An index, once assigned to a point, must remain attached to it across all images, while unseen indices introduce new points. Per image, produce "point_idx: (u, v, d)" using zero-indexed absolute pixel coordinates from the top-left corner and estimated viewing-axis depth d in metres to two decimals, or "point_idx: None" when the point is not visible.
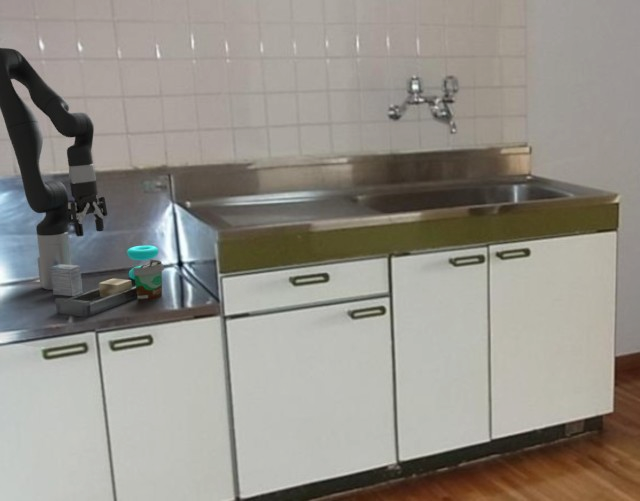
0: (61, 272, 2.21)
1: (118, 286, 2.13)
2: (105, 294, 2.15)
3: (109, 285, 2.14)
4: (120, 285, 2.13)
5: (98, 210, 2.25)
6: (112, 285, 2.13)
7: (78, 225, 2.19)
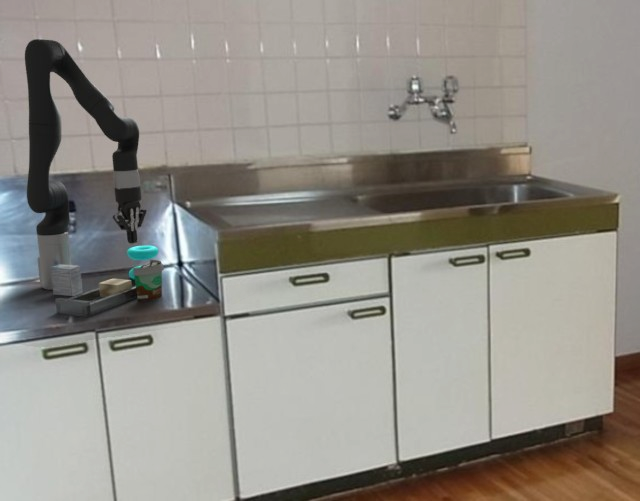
0: (61, 272, 2.21)
1: (118, 286, 2.13)
2: (105, 294, 2.15)
3: (109, 285, 2.14)
4: (120, 285, 2.13)
5: (137, 218, 2.21)
6: (112, 285, 2.13)
7: (130, 232, 2.20)
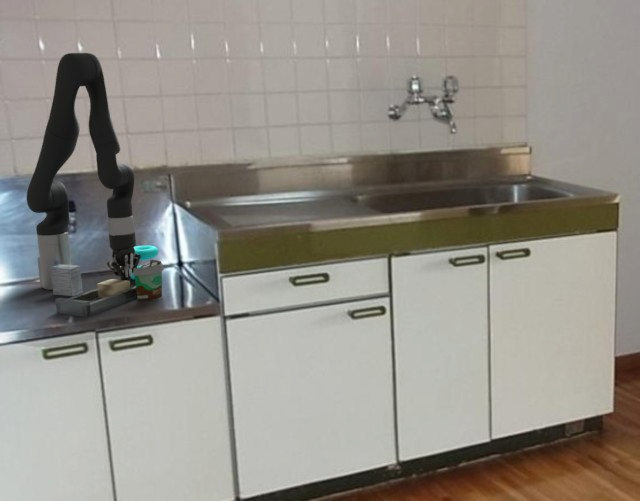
0: (61, 272, 2.21)
1: (116, 287, 2.12)
2: (103, 295, 2.14)
3: (107, 286, 2.13)
4: (118, 286, 2.13)
5: (131, 264, 2.20)
6: (110, 286, 2.13)
7: (125, 278, 2.19)
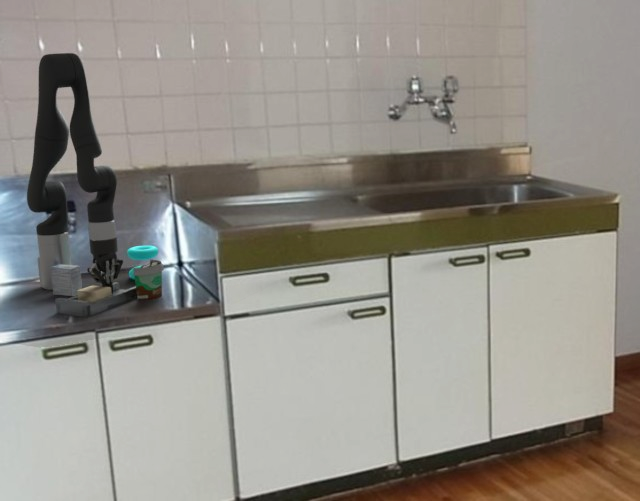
0: (61, 272, 2.21)
1: (97, 294, 2.05)
2: None
3: (88, 292, 2.06)
4: (99, 292, 2.06)
5: (113, 270, 2.13)
6: (91, 292, 2.06)
7: (106, 285, 2.12)
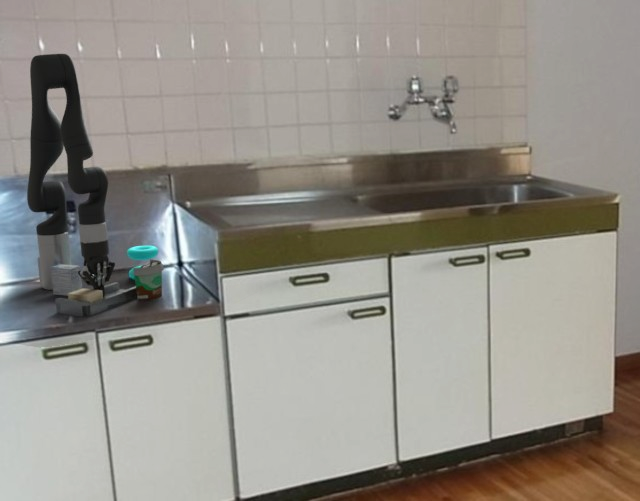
0: (61, 272, 2.21)
1: (88, 297, 2.02)
2: None
3: (78, 296, 2.03)
4: (90, 296, 2.03)
5: (104, 273, 2.10)
6: (81, 296, 2.02)
7: (97, 288, 2.09)
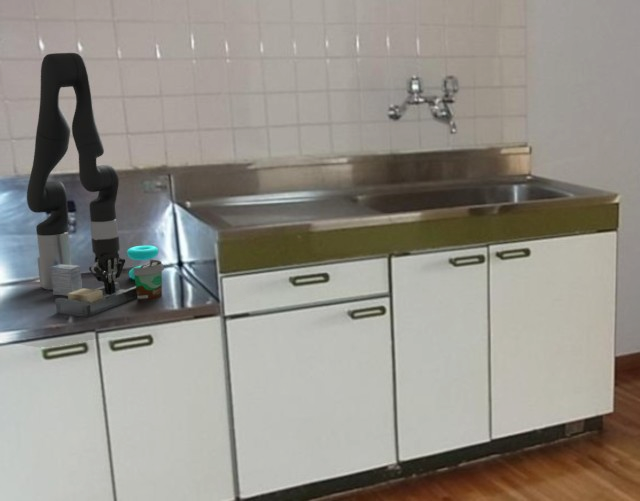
0: (61, 272, 2.21)
1: (88, 297, 2.02)
2: None
3: (78, 296, 2.03)
4: (90, 296, 2.03)
5: (115, 269, 2.14)
6: (81, 296, 2.02)
7: (108, 284, 2.13)
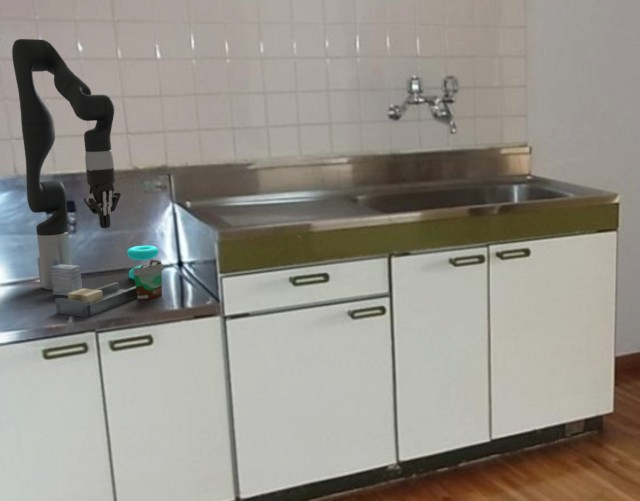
0: (61, 272, 2.21)
1: (88, 297, 2.02)
2: None
3: (78, 296, 2.03)
4: (90, 296, 2.03)
5: (110, 202, 2.10)
6: (81, 296, 2.02)
7: (103, 216, 2.09)
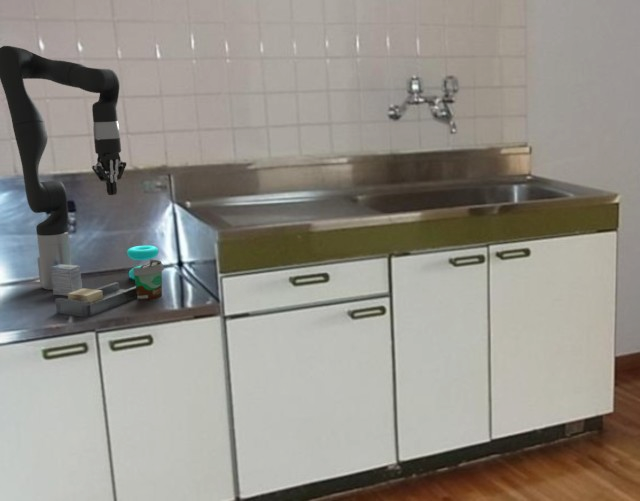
0: (61, 272, 2.21)
1: (88, 297, 2.02)
2: None
3: (78, 296, 2.03)
4: (90, 296, 2.03)
5: (116, 170, 2.23)
6: (81, 296, 2.02)
7: (110, 184, 2.23)
